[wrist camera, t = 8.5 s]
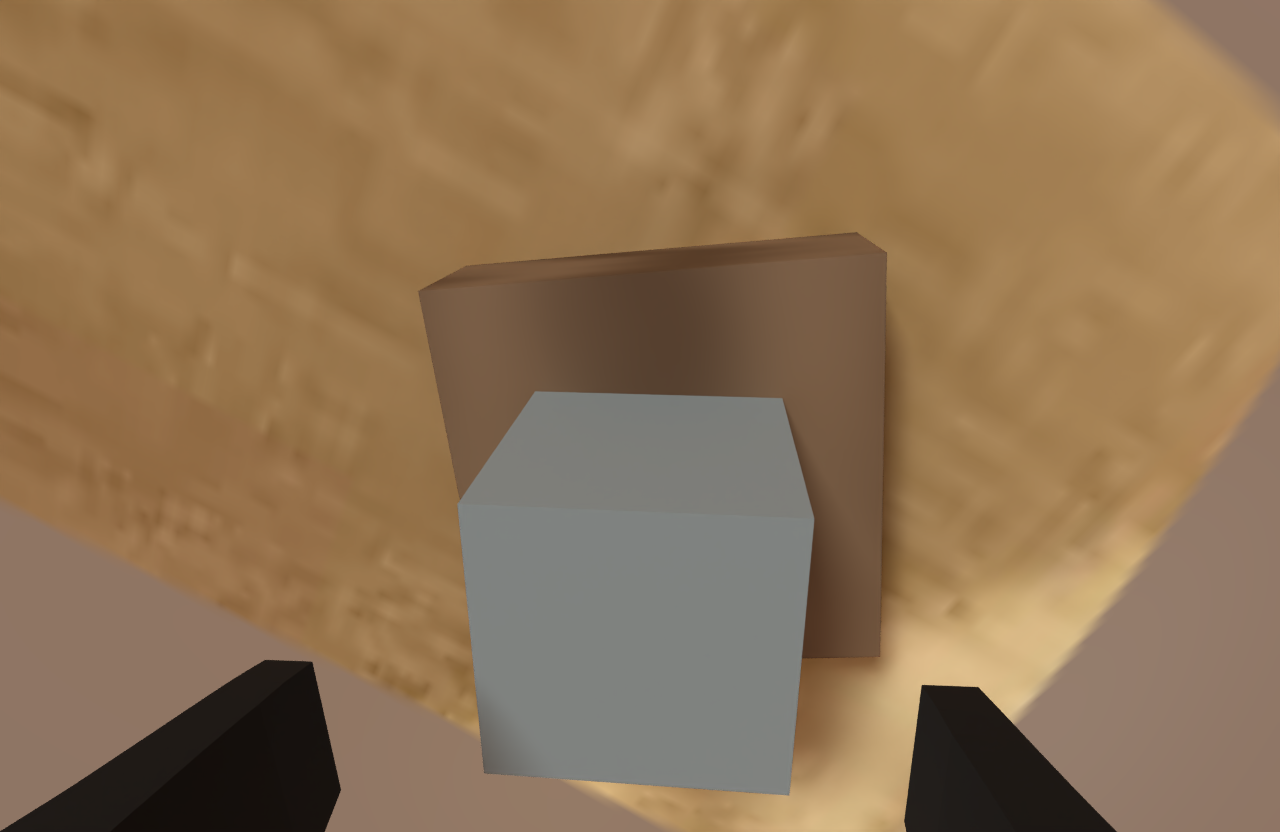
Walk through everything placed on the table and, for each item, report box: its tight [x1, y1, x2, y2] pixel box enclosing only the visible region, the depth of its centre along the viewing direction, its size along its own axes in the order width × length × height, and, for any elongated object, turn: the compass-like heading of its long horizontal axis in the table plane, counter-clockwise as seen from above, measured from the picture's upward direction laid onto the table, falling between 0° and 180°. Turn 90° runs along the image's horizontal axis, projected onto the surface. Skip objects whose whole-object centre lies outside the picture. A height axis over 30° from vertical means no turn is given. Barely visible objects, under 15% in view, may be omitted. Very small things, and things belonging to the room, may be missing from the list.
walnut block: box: [418, 232, 887, 658], centre depth 17 cm, size 9×9×4 cm
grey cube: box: [458, 391, 814, 795], centre depth 14 cm, size 5×5×5 cm
